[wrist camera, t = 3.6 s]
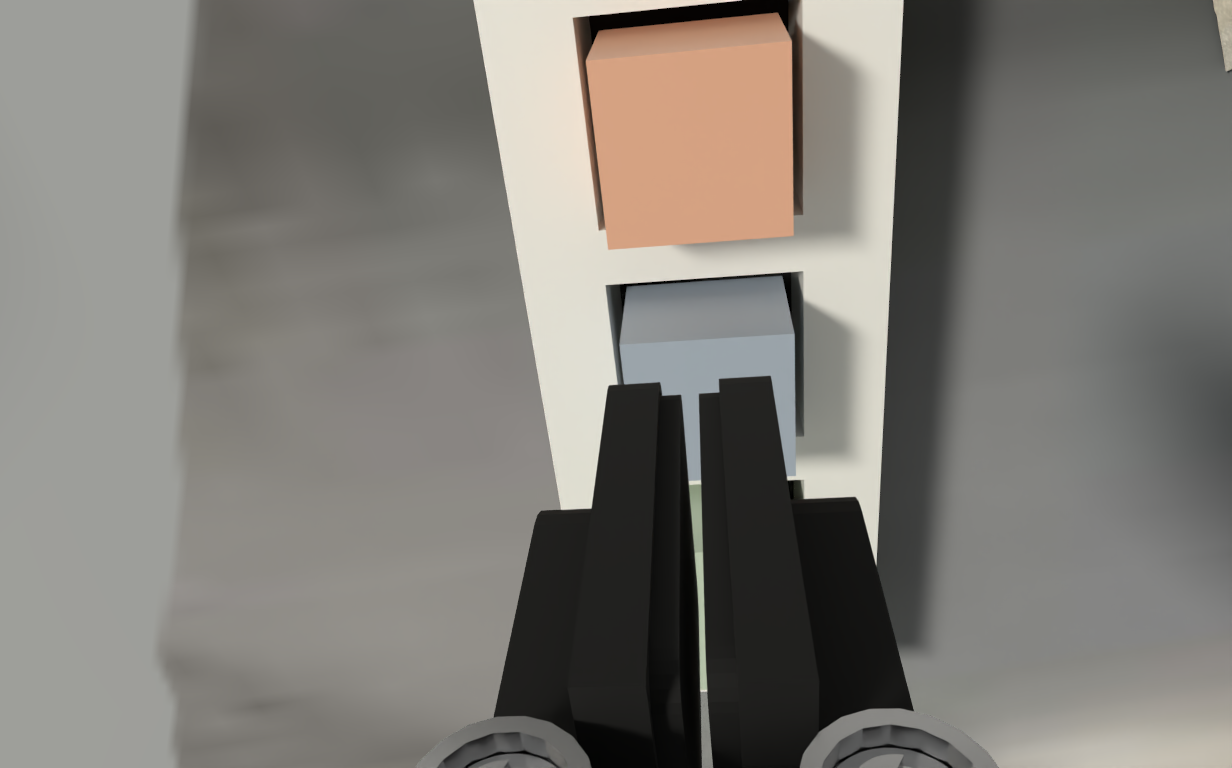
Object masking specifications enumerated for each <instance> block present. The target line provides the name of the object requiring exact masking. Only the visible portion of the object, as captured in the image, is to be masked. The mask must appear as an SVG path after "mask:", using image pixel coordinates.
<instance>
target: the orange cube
mask: <svg viewBox="0 0 1232 768" xmlns="http://www.w3.org/2000/svg"><path fill="white" fill-rule="evenodd" d="M586 67H587V76H588V84H589V92H590V101H591V109H592V118H593V126H594V135H595V143H596V152H597V160H598V168H599V177H600V185H601V194H602V202H603V211H604V219H605V227H606V236H607V244H608V250H613V249H627V248H640V247H653V246H667V245H680V244H694V243H707V242H721V241H734V240H747V239H761V238H774V237H788V236H794V220H793V114H792V40H791V38H790V36H789V34H788V32H787V30H786V28H785V26H784V24H783V22H782V20H781V18H780V16H779V14H778V13H768V14H758V15H748V16H738V17H728V18H718V19H708V20H698V21H689V22H679V23H669V24H659V25H649V26H639V27H629V28H619V29H609V30H599V31H598V33H597V36H596V38H595V40H594V43H593V45H592V47H591V50H590V52H589V54H588V57H587V59H586Z"/></svg>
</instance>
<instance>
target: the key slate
mask: <svg viewBox="0 0 1232 768" xmlns="http://www.w3.org/2000/svg"><path fill="white" fill-rule="evenodd" d="M619 346H620V354H621V362H622V371H623V379H624V384H638V383H654V382H660V384H661V389H662V396H665V395H681V397H682V406H683V418H684V430H685V442H686V455H687V467H688V479H689V481H697V480H701V463H700V424H699V394H700V393H717V392H719V379H722V378H739V377H756V376H771V379H772V385H773V392H774V398H775V404H776V411H777V417H778V423H779V430H780V436H781V442H782V449H783V455H784V461H785V468H786V474H787V476H796V432H795V333H794V329H793V324H792V319H791V315H790V310H789V305H788V301H787V296H786V291H785V287H784V282H783V278H782V276H770V277H756V278H741V279H727V280H713V281H698V282H684V283H670V284H655V285H641V286H627V290H626V297H625V305H624V313H623V321H622V329H621V336H620V344H619Z"/></svg>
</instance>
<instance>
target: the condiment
mask: <svg viewBox="0 0 1232 768" xmlns="http://www.w3.org/2000/svg"><path fill="white" fill-rule="evenodd" d="M1213 2H1214V10H1215V13H1216V15H1217V19H1218V27H1219V33H1220V38H1221V44H1222V50H1223V56H1224V62H1225V69H1226V71H1228V70H1231V69H1232V0H1213Z"/></svg>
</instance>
